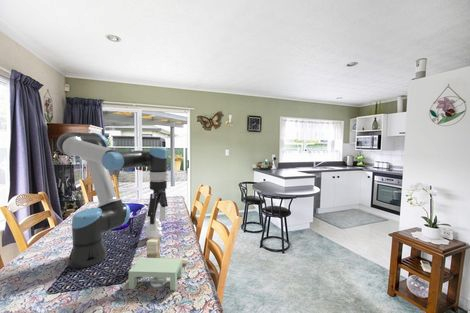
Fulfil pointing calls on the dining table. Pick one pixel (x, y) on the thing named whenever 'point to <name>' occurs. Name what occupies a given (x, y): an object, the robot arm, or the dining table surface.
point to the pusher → (158, 250)
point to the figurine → (154, 233)
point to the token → (158, 282)
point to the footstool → (156, 270)
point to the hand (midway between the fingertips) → (158, 224)
